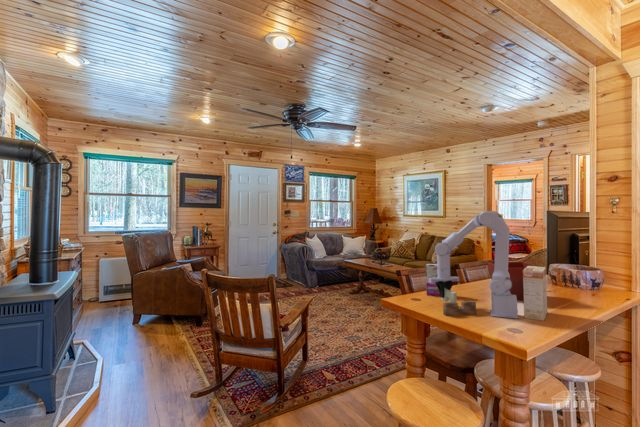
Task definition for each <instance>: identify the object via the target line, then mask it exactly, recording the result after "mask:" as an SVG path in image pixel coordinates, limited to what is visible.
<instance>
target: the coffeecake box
mask: <svg viewBox="0 0 640 427" xmlns="http://www.w3.org/2000/svg"><path fill="white" fill-rule="evenodd" d="M538 266H539V265H537V266H527V267H526V268H525V269H524V270H523V289H524V300H523V314H524V315H523V318H524V319H529V320H536V321H542V322H545V319H546V317H547V313H548V300H547V299H548V297H547V296H548V294H547V267H546V266H541V267H538Z"/></svg>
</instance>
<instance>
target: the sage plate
mask: <svg viewBox="0 0 640 427" xmlns="http://www.w3.org/2000/svg"><path fill="white" fill-rule="evenodd" d="M457 294H458V293H457V292H455V291H453V290H448V289H446V288H445V289H444V298H442V297H441V296H440V298H441V300H442V301H444V302H456V303H458V302H457Z"/></svg>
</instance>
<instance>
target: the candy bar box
mask: <svg viewBox="0 0 640 427" xmlns="http://www.w3.org/2000/svg"><path fill="white" fill-rule="evenodd" d="M434 277H438V273H437V263H425V287H426V288H425V289H426V296H430V295H433V297H434V296H435V297H436V296H437V297H441V296H440V293H439V290H438V287H437V286H436V284H435V282H433V283H430V282H429V278H434ZM441 281H444V280H441Z"/></svg>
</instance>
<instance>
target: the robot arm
mask: <svg viewBox="0 0 640 427" xmlns="http://www.w3.org/2000/svg"><path fill="white" fill-rule="evenodd" d="M484 226H485V227H486V228H489V229H490V230H492V231H493V233H494V234H495V241H494V242H495V244H494V262H495V265H494V273H493V275H492V280H490V282H489V286H488V287H489V289H490V291H491V293H490V294H491V298H490V299H491V309H490V316H491V317H497V318H506V319H507V318H509V319H518V317H519V316H518V313H519V310H518V300H517V297H516V295H512V294H511V293H510V291H509V290H510V289H511V287H512V283H511V280H510V274H509V272H508V262H509V258H510V257H509V255H510V254H509V253H510V227H509V225H508V224H507V222H506V221H505V219H504V217H503V215H502V214H500V213H499V212H498V211H496V210H483V211H481V212H480V213H479V214H477V215H476V216H475V217H473V218H472V219H471V220H470V221H469V222H468V223H467V224H466V225H464V226H463V227H462V228H461V229H460V230H459V231H458V232H457V231H455V232H450V233H449V234H448V236H447V237H446V238H444V239H442V240H441V242H438V243H436V245H435V246H434V252H435V254H436V264H437V273H438V277H434V278H429V282H430V283H433V282H435V284H436V286H437V287H438V290H439V293H440V296H439V297H440V298H441V297H442V298H444V289H445V288H446V289H448V290H451V289H452V287H453V286H454V282H460V276H451V253H452V250H454V249H455V248H457V247H458V246H460V244H461V243H463V242H464V237H466V236H468V235H469V234H470V233H472V232H473V231H474V230H475V229H477V228H479V227H484ZM441 280H444V281H441ZM451 291H452V290H451Z"/></svg>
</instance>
